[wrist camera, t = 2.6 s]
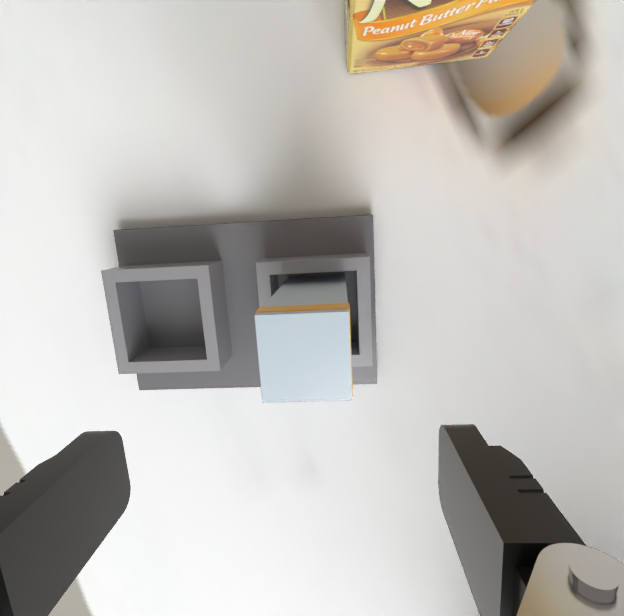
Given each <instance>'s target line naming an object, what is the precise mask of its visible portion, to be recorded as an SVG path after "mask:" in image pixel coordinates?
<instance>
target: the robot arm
mask: <svg viewBox="0 0 624 616" xmlns="http://www.w3.org/2000/svg"><path fill="white" fill-rule="evenodd" d="M438 484H439V495H440V502H441V506H442V510H443V513H444V516H445V519H446V522H447V525H448V527H449V530H450V533H451V536H452V539H453V541H454V544H455V547H456V550H457V553H458V555H459V558H460V561H461V564H462V566H463V569H464V572H465V575H466V578H467V580H468V583H469V586H470V589H471V592H472V594H473V597H474V600H475V603H476V606H477V608H478V611H479V614H480V616H624V564H623V563H621V562H620V561H618V560H617V559H615V558H613V557H612V556H610V555H608V554H606V553H604V552H601V551H599V550H597V549H594V548H591V547H588V546H586V545H585V544H584V542H583V541H582V540H581V538H580V537H579V536H578V534H577V533H576V532H575V530H574V529H573V528H572V526H571V525H570V524H569V522H568V521H567V520H566V519H565V517H564V516H563V515H562V513H561V512H560V511H559V509H558V508H557V507H556V505H555V504H554V503H553V501H552V500H551V499H550V498H549V496H548V495H547V494H546V493H544V491H543V488H542V487H541V486H540V484H539V483H538V482H537V480H536V479H533V475H532V474H531V473H530V471H529V470H528V469H527V467H526V466H525V465H524V463H523V462H522V461H521V459H519V458H518V457H516V456H515V455H513V454H512V453H510V452H509V451H508V450H506V449H505V448H503V447H502V446H488V444H487V443H486V441H485V440H484V438H483V437H482V435H481V434H480V432H479V431H478V429H477V428H476V427H475V425H473V424H469V425H441V426H440V429H439V477H438ZM129 497H130V480H129V475H128V469H127V464H126V458H125V453H124V447H123V441H122V438H121V435H120V434H119V433H118V432H116V431H90V432H84V433H82V434H81V435H80V436H78V437H77V438H76V439H75V440H73V441H72V442H71V443H70V444H69V445H67V446H66V447H65V448H64V449H63V450H61V451H60V452H59V453H58V454H57V455H55V456H53V457H52V458H50V459H48V460H46V461H44V462H42V463H41V464H39V465H37V466H36V467H35V468H34V469H32V470H31V471H30V472H29V473H27V474H26V475H25V476H24V477H23V478H21V479H20V482H19V483H15V484H14V485H13V486H11V487H10V488H9V489H8V490H7V491H6V492H4V495H3V496H0V616H48V615H49V613H50V612H51V611H52V609H53V608H54V606H55V605H56V604H57V602H58V601H59V600H60V598H61V597H62V595H63V594H64V593H65V592H66V590H67V589H68V587H69V586H70V585H71V583H72V582H73V581H74V579H75V578H76V577H77V575H78V574H79V573H80V571H81V570H82V568H83V567H84V566H85V564H86V563H87V562H88V560H89V559H90V558H91V556H92V555H93V553H94V552H95V551H96V549H97V548H98V547H99V545H100V544H101V543H102V541H103V540H104V539H105V537H106V536H107V534H108V533H109V532H110V530H111V529H112V528H113V526H114V525H115V524H116V522H117V521H118V519H119V518H120V517H121V515H122V514H123V513H124V511H125V509H126V507H127V505H128V501H129Z"/></svg>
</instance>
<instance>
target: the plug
mask: <svg viewBox="0 0 624 616" xmlns="http://www.w3.org/2000/svg"><path fill="white" fill-rule="evenodd" d="M255 326H256V337H257V348H258V359H259V370H260V381H261V392H262V403H264V402H306V401H349V400H352V397H353V378H352V352H351V326H350V305H349V303H348V298H347V289H346V280H345V276H333V277H312V278H292V279H287V280H286V281H285V282H284V283H283V284H282V285H281V287H280V288H279V289H278V290H277V291H276V292H275V293H274V294H273V295H272V297H271V298H270V299H269V300H268V301H267V302H266V303H265V304H264V305H263V307H260V308H259V309H258V310H257V311H256V314H255Z"/></svg>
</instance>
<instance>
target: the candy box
mask: <svg viewBox="0 0 624 616" xmlns="http://www.w3.org/2000/svg"><path fill="white" fill-rule="evenodd" d="M535 1H536V0H344V13H345V38H346V58H347V70H348V72H349V73H350V74H352V73H362V72H372V71H381V70H389V69H398V68H406V67H414V66H421V65H429V64H436V63H444V62H451V61H459V60H466V59H475V58H483V57H487V56H488V55H489V54H490V53H491V52H492V51H493V50H494V48H495V47H496V46H497V45H498V44H499V42H500V41H501V40H502V39H503V38H504V37H505V35H507V33H508V32H509V31H510V30H511V29H512V27H513V26H514V25H515V24H516V23H517V22H518V21H519V20H520V18H522V17H523V15H524V14H525V13H526V12H527V11H528V9H529V8H530V7H531V6H532V5H533V4H534V2H535Z"/></svg>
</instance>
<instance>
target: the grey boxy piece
mask: <svg viewBox="0 0 624 616" xmlns="http://www.w3.org/2000/svg"><path fill="white" fill-rule="evenodd" d="M114 236H115V242H116V249H117V255H118V261H119V267H116V268H112V269H107V270H102V271H101V272H102V278H103V284H104V290H105V296H106V302H107V307H108V313H109V319H110V325H111V331H112V337H113V342H114V348H115V354H116V360H117V366H118V372H119V374H131V373H137V379H138V385H139V390H158V389H196V388H233V387H261V381H260V370H259V359H258V348H257V337H256V326H255V314H256V311H257V310H258V309H259V308H260V307H263V305H264V304H265V303H266V302H267V301H268V300H269V299H270V298H271V297H272V295H273V294H274V293H275V292H276V291H277V290H278V289H279V288H280V287H281V285H282V284H283V283H284V282H285V281H286V280H287V279H292V278H312V277H333V276H345V280H346V289H347V298H348V303H349V305H350V326H351V352H352V378H353V384H377V363H376V322H375V281H374V240H373V215H359V216H342V217H325V218H309V219H292V220H275V221H259V222H242V223H225V224H209V225H192V226H175V227H159V228H142V229H125V230H114Z"/></svg>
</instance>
